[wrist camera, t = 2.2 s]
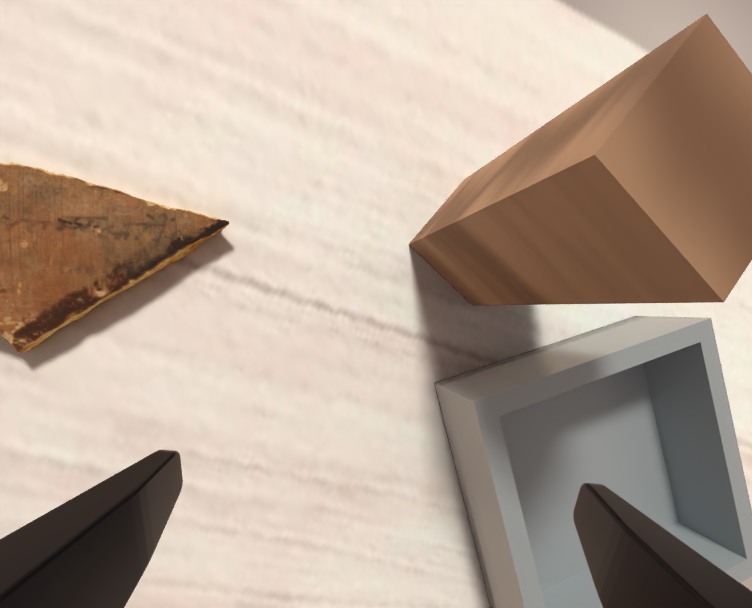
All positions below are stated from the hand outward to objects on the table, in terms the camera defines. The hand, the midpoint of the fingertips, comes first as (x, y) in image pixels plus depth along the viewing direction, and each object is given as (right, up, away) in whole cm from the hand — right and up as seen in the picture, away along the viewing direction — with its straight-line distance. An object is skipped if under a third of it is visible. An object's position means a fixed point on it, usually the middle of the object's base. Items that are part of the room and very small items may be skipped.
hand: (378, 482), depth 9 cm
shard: (-14, +7, +9) cm, 19 cm away
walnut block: (+5, +7, +14) cm, 16 cm away
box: (+11, -5, +15) cm, 20 cm away
